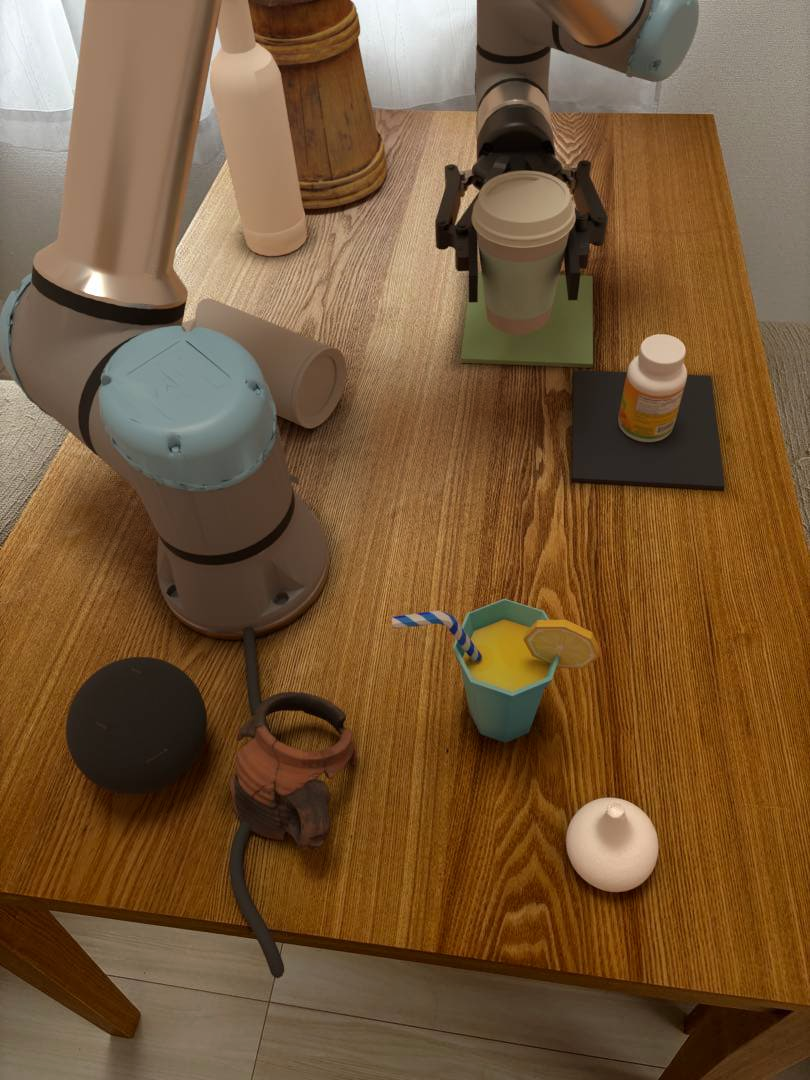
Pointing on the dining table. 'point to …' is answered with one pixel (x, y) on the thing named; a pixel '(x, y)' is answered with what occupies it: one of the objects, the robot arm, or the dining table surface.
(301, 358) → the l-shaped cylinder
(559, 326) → the sage mat
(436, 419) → the dining table surface
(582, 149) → the dining table surface
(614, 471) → the charcoal mat
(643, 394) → the supplement bottle
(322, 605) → the dining table surface
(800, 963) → the dining table surface
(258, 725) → the broken clay pot
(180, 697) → the speaker
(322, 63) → the tankard
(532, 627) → the cup
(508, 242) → the coffee cup
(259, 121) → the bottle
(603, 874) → the garlic bulb
